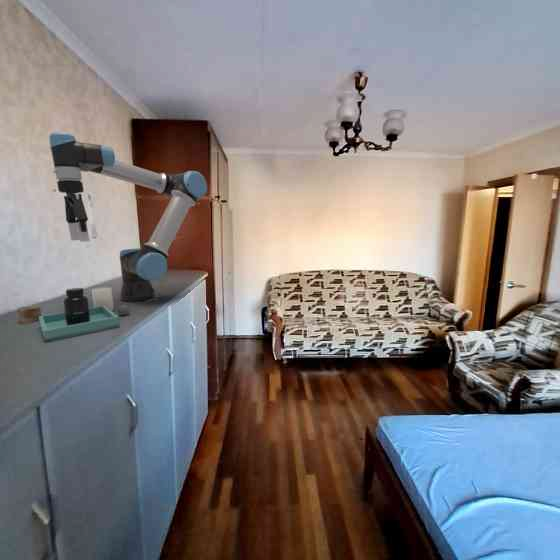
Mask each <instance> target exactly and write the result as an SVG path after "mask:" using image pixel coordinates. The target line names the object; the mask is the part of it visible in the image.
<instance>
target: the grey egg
mask: <svg viewBox="0 0 560 560" xmlns="http://www.w3.org/2000/svg"><path fill="white" fill-rule="evenodd" d="M129 312H130V308H129V306H128V305H126V304H121V305H119V306H118V307H117V313H118V315H120V316H126V315H128V314H129Z"/></svg>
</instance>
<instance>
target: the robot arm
mask: <svg viewBox="0 0 560 560" xmlns="http://www.w3.org/2000/svg"><path fill="white" fill-rule="evenodd" d="M49 145H50V146H49V147H50V150H51V156H52V161H53V166H54V169H53V171H52V172H53V173H54V174H55V176H56V177H55V178H56V180H58V181H57V182H56V184H57V189H58V192H59V193H63V194H66V195H64V196H63V198H64V209H65V210H64V211H65V221H66V222H67V223H68V229H69V235H70V241H79V242H81V243H82V242H90V236H89V235H90V234H89V230H88V224H87V222H88V221H89V218H88V215H87V212H86V211H87V210H86V208H85V204H84V201H83V198H82V193H83V192H84V191H85V190H84V184H83V182H82V180H83V176H82V172H84V173H85V172H91V173H95V174H98V175H103V176H107V177H110V178H113V179H117V180H121V181H123V182H126V183H127V182H128V183H130V184H133V185H134V184H135V185H138V186H141V187H145V188H149V189H151V190H154V191H155V190H156V191H157V193H159V194H162V195H165V196H168V197H171V199H170V200H169V201H170V202H169V203H168V205H167V206H166V208H165V211H164V212H163V214H162V216H161V217H160V220H159V222H158V223H157V225H156V227H155V229H154V230H153V233H152V235H151V237H150V238H149V239H148V241H147V242H145V243H143V244H142V245H141V246H140V247H138V248H137V247H135V248H127V249H126V248H125V249H121V250H120V251H119V261H120V272H121V278H122V285H121V289H120V292H119V298H120V299H119V300H120V301H122V302H139V301H147V300H150V299H153V298H155V297H156V291H155V288H154V285H153V284H152V282H151V281H156V280H159V279H161V278H162V277H163V276H164V275H165V274H166V272H167V270H168V261H167V260H168V259H169V257H170V256H169V253H168V250H169V248H170V247H171V244H172V242H173V241H174V240H175V237H176V235H177V233H178V231H179V229H180V227H181V225H182V223H183V221H184V219H185V218H186V216H187V213H188V211H189V210H190V208H191V207H194V206H196V204H197V201H198V199H200V198H202V197H204V196H205V195H206V194H207V191H208V184H207V180H206V178H205V177H204V175H203V174H202V173H200V172H199V171H195V170H188V171H186V172H183V173H181V172H180V173H177V174H169V173H165V172H161V173H158V172H155V171H152V170H148V169H145V168H141V167H139V166H136V165H132V164H130V163H127V162H124V161H121V160H117V159H116V156H115V155H116V154H115V151H114V149H113V148H112V147H111V146H110V145H109V146H108V145H104V144H98V143H97V144H96V143H88V142H82V141H81V142H80V141H77V140H76V137H75V135H73V134H71V133H68V132H60V131H59V132H56V131H55V132H52V133H50V134H49Z"/></svg>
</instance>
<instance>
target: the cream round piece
mask: <svg viewBox="0 0 560 560" xmlns="http://www.w3.org/2000/svg"><path fill="white" fill-rule="evenodd" d="M91 296H92V304H93V307H99V306H106V307H107V308H108V309H109V310H111V311H112V312H113V311H114V310H115V308H114V307H115V305H114V297H113V288H112V286H99V287H95V288H92V289H91Z"/></svg>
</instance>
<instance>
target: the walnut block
mask: <svg viewBox="0 0 560 560" xmlns="http://www.w3.org/2000/svg"><path fill="white" fill-rule="evenodd" d="M41 310H42V309H41V307H40V306H37V305H30V306H24V307H20V308H17V312H18V319H19V322H20V323H21V322H22V324H24V325H27V324H28V325H29V324H32V323H37V322H39V316H42V311H41Z"/></svg>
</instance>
